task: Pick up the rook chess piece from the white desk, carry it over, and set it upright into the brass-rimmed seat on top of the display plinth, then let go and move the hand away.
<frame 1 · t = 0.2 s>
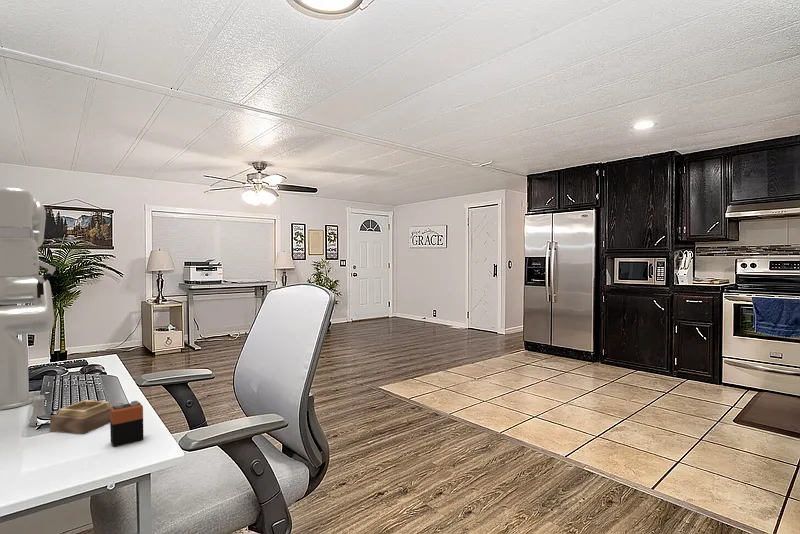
hand: (16, 298, 122), 36 cm above the table, tool pointing down, fingers open, 9 cm apart
battery: (127, 441, 117), on the table
display plinth: (84, 424, 128), on the table
rook chess piece: (39, 424, 129), on the table
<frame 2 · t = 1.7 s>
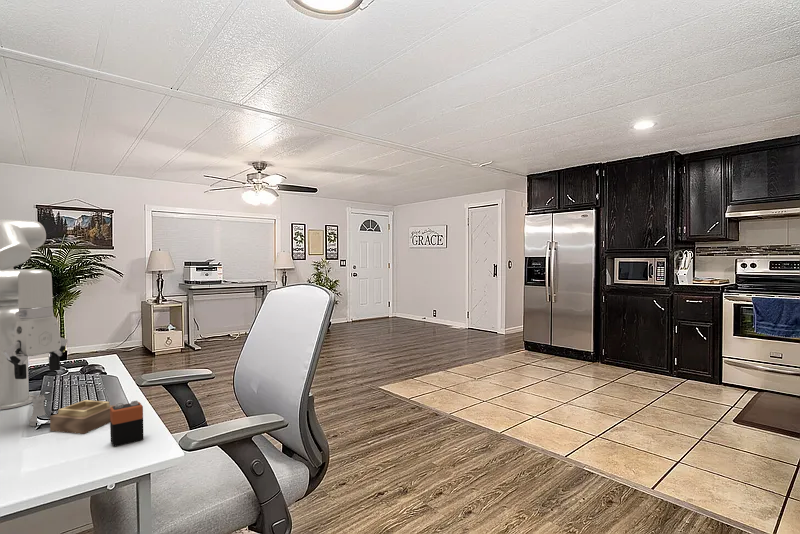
hand: (38, 374, 128), 14 cm above the table, tool pointing down, fingers open, 9 cm apart
nothing on the table moved.
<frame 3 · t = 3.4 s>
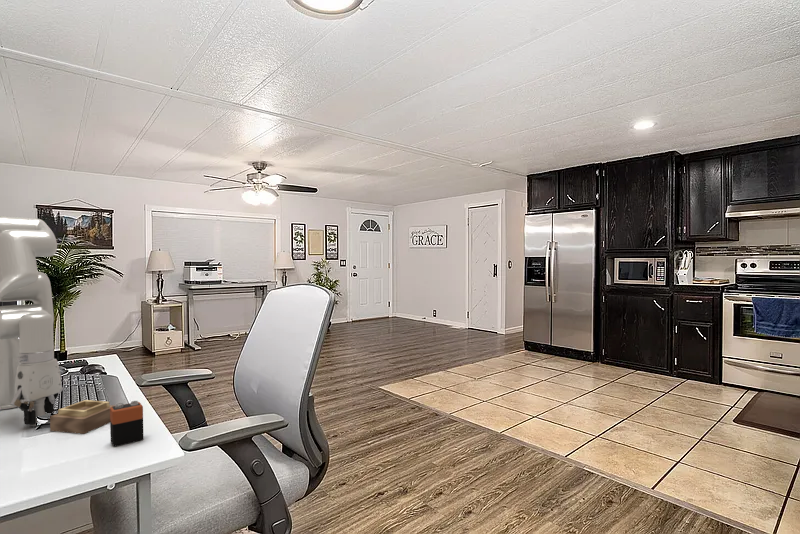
hand: (38, 420, 129), 1 cm above the table, tool pointing down, fingers closed on rook chess piece, 4 cm apart
rook chess piece: (39, 424, 129), on the table, touching gripper
everything else where it was.
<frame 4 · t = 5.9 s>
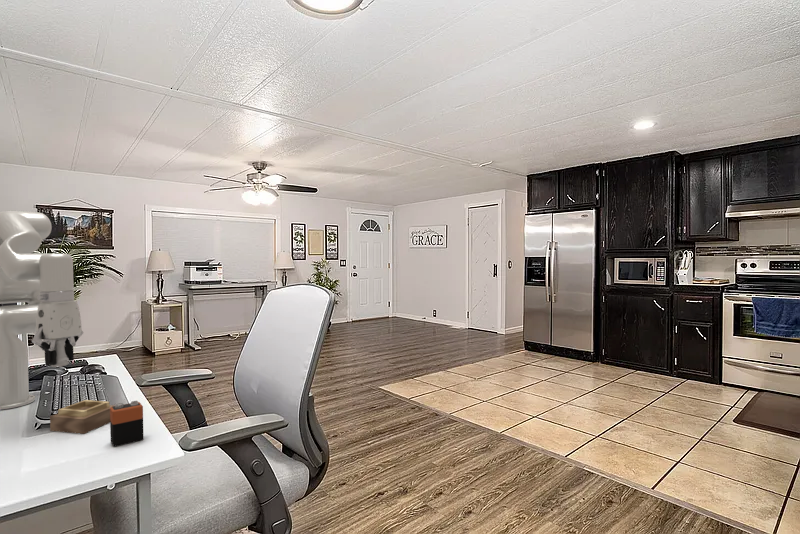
hand: (59, 361, 128), 18 cm above the table, tool pointing down, fingers closed on rook chess piece, 4 cm apart
rook chess piece: (59, 366, 128), point 17 cm above the table, touching gripper
everything else where it was.
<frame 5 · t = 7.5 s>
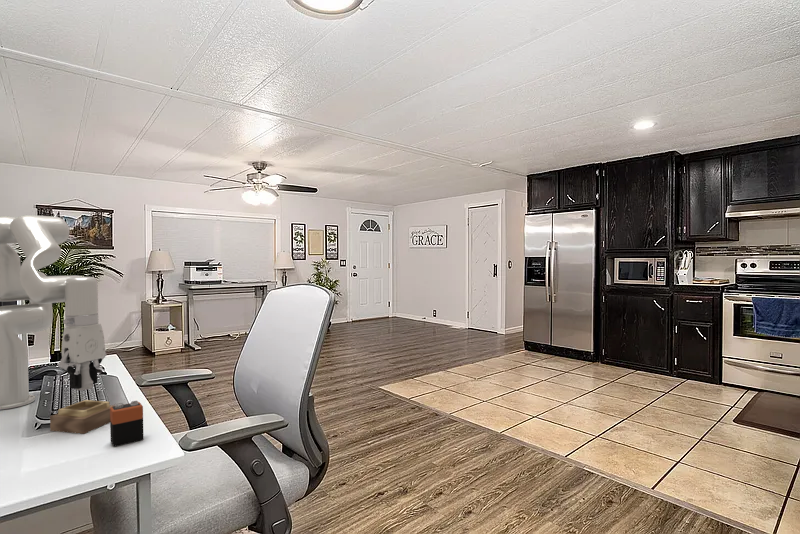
hand: (84, 385, 128), 11 cm above the table, tool pointing down, fingers closed on rook chess piece, 4 cm apart
rook chess piece: (84, 389, 128), point 10 cm above the table, touching gripper
everything else where it was.
when the fingers open (7 cm above the table, at t = 8.6 s): rook chess piece drops 2 cm, resting on display plinth.
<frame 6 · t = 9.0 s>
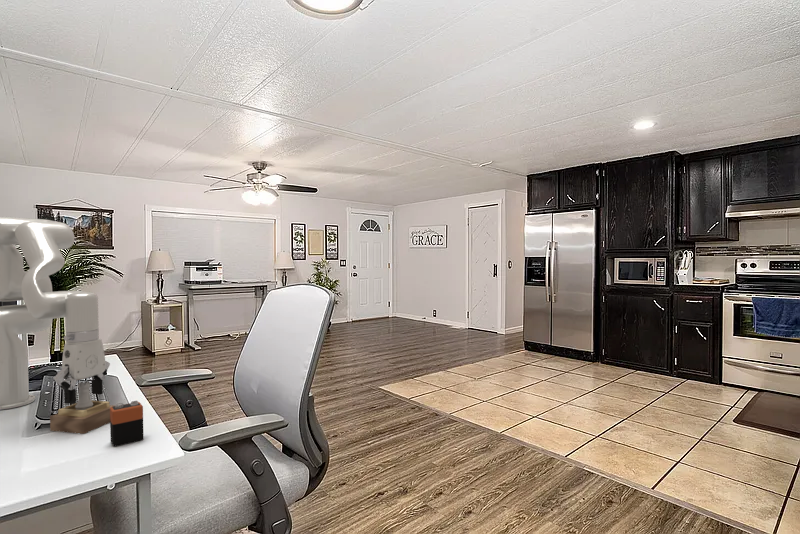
hand: (84, 398, 128), 8 cm above the table, tool pointing down, fingers open, 8 cm apart
rook chess piece: (84, 411, 128), point 4 cm above the table, touching display plinth
everything else where it was.
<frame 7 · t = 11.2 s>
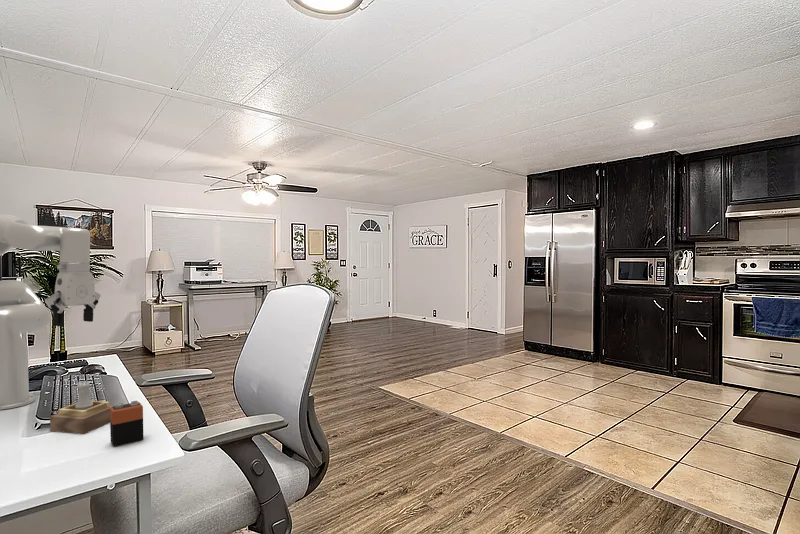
hand: (74, 323, 141), 27 cm above the table, tool pointing down, fingers open, 9 cm apart
nothing on the table moved.
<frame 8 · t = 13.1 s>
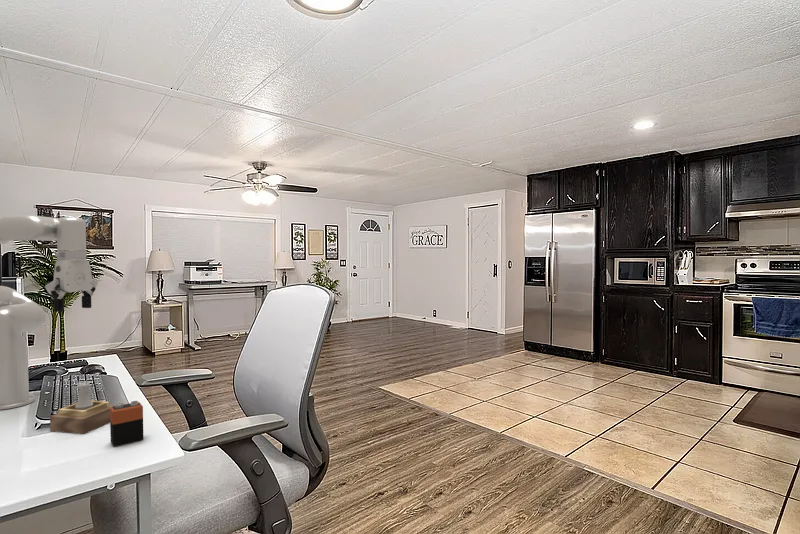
hand: (73, 309, 146), 30 cm above the table, tool pointing down, fingers open, 9 cm apart
nothing on the table moved.
at the end: rook chess piece 0.2 cm off-centre on the display plinth, point 3.8 cm above the display plinth's base; rook chess piece tilted 0°; the gripper is holding nothing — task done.
